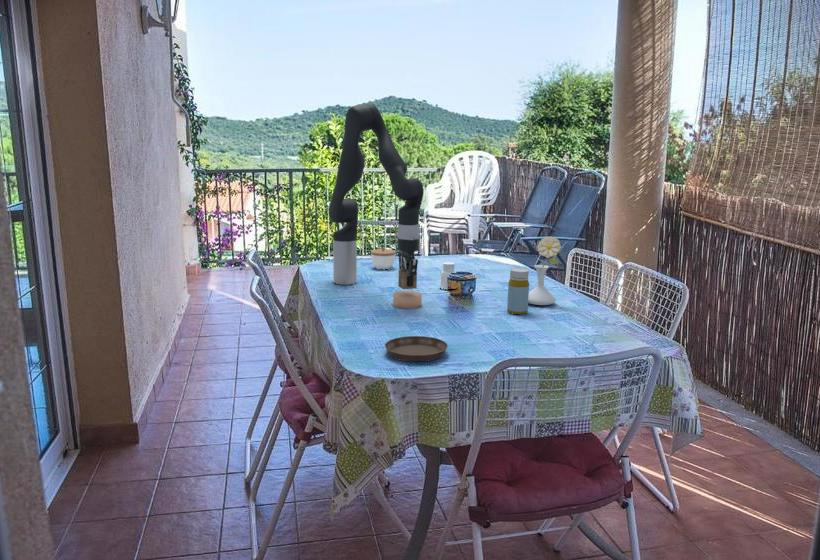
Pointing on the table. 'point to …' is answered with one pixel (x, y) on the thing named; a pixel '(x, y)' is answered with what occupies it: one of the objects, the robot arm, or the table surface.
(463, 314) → the table surface
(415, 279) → the walnut block
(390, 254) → the lidded jar
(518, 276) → the bottle
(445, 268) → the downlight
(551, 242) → the flower in vase
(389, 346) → the plant saucer
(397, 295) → the terracotta puck
